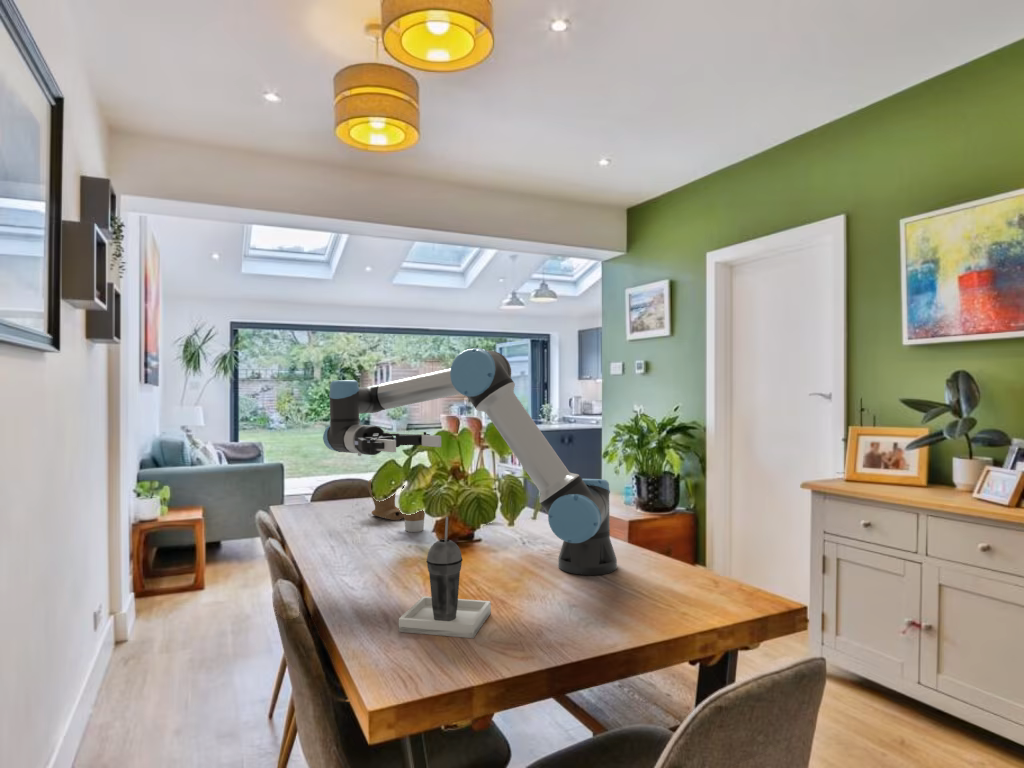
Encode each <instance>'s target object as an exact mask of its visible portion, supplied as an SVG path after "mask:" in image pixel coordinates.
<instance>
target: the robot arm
mask: <svg viewBox="0 0 1024 768" xmlns="http://www.w3.org/2000/svg"><path fill="white" fill-rule="evenodd" d="M515 385H516V383H515V382H514V380H513V379H512V367H511V364H510V361H509V360H508V359H507V358H506V356H505V355H503V354H502V353H500V352H497V351H495V350H488V349H484V348H480V347H475V348H468V349H465V350H463V351H461V352H460V353H459V354H458V355H456V356H455V357H454V359H453V361H452V363H451V367H450V368H448V369H447V368H446V369H443V370H438V371H434V372H429V373H424V374H420V375H415V376H412V377H406V378H403V379H402V378H401V379H396V380H392V381H388V382H385V383H380V384H374V385H370V386H359V382H358V381H357V380H355V379H344V380H343V379H340V380H339V379H336V380H331V382H330V384H329V395H328V398H329V416H330V417H329V418H330V420H329V425H328V426H327V427H326V428H325V430H324V432H323V434H322V440H323V443H324V445H325V446H326V447H325V448H327V449H329V450H331V451H335V452H337V453H349V454H357V456H359V457H361V456H362V455H366V456H376V455H378V454H380V453H381V452H386V453H387V452H388V453H397V448H399V447H401V446H421V447H433V448H442V436H441V435H433V434H432V435H431V434H429V433H427V432H426V431H424V432H423V433H421V434H418V433H417V434H416V433H415V434H409V433H408V434H407V433H406V434H402V433H390V432H385V431H384V430H383V429H382V428H381V427H379V426H378V425H370V424H369V425H366V424H360V415H361V414H374V413H376V414H377V413H379V412H382V411H385V410H388V409H394V408H399V407H404V406H409V405H415V404H418V403H424V402H429V401H434V400H439V399H443V398H447V397H452V396H457V395H462V396H465V397H467V398H468V399H469V402H471V405H472V406H473V408H475V410H476V411H477V412H484V413H486V415H487V417H488V418H489V420H490V421H491V422H492V424H493V425H494V427H495V429H496V430H497V431H498V432H499V435H500V436H501V437H502V439H503V441H505V442H506V444H507V446H508V447H509V449H510V451H511V452H512V454H513V455H514V456H515V458H516V459H517V461H518V462H519V464H520V465H521V466H522V469H524V472H526V473H527V475H528V477H529V478H530V479H531V481H532V483H534V485H535V487H536V488H537V490H538V491H539V492H540V493H539V494H540V496H539V500H538V501H539V504H540V505H541V506H542V508H543V509H544V511H545V512H546V514H547V519H548V525H549V528H550V530H551V532H553V535H555V536H556V537H557V538H558V539H560V540H562V541H563V542H562V544H561V548H560V551H559V554H558V561H557V562H558V568H559V569H560V570H562V571H564V572H566V573H569V574H570V573H571V574H574V575H580V576H581V575H583V576H599V575H606V574H611V573H612V572H614V571H616V570H617V568H618V564H617V563H618V562H617V561H618V559H617V556H616V553H615V550H614V547H613V544H612V540H611V537H610V536H611V535H610V534H611V533H610V529H611V527H610V524H611V523H610V521H611V519H610V494H611V490H610V483H609V481H608V480H606V479H601V478H581V476H580V474H578V473H573V472H570V471H569V470H568V468H567V467H566V465H565V464H564V462H563V461H562V460H561V458H560V457H559V456H558V454H557V452H556V451H555V449H554V448H553V446H552V445H551V444H550V443H549V441H548V439H547V438H546V437H545V435H544V434H543V433H542V431H541V429H540V428H539V427H538V425H537V424H536V422H535V421H534V420H533V418H532V417H531V415H530V414H529V413H528V411H527V409H525V407H524V406H523V404H522V402H521V401H520V400H519V399H518V396H517V395H516V394H515Z"/></svg>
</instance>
